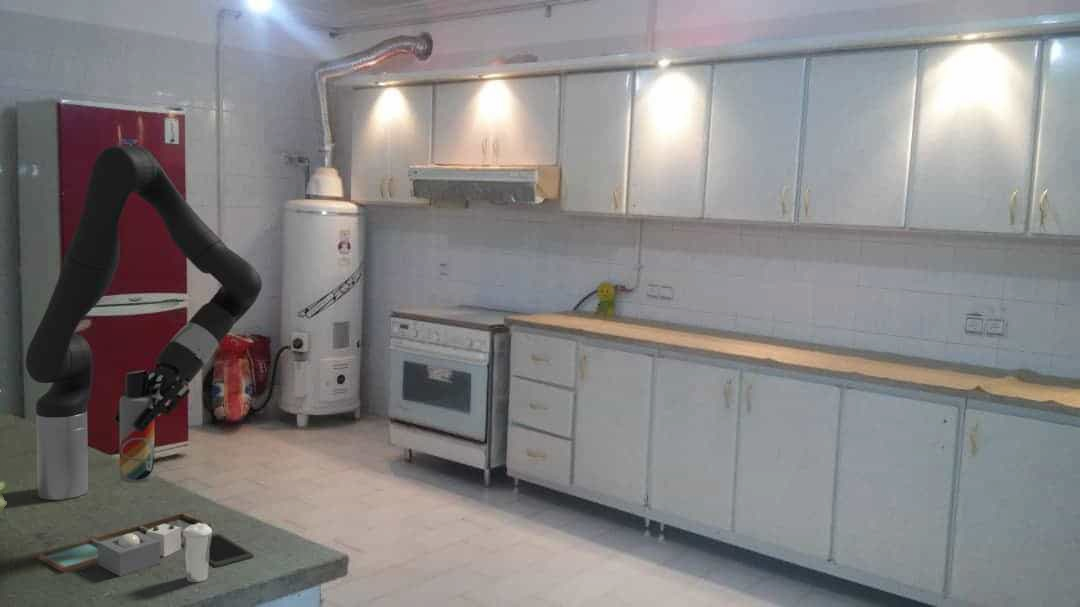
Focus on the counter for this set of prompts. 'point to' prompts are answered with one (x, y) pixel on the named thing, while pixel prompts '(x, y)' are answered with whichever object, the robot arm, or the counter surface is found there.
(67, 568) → the track
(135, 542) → the dome
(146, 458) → the lotion bottle
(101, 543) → the button box
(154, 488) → the counter surface
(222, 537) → the cell phone
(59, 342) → the robot arm
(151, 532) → the die
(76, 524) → the counter surface
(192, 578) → the milkshake
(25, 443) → the counter surface
